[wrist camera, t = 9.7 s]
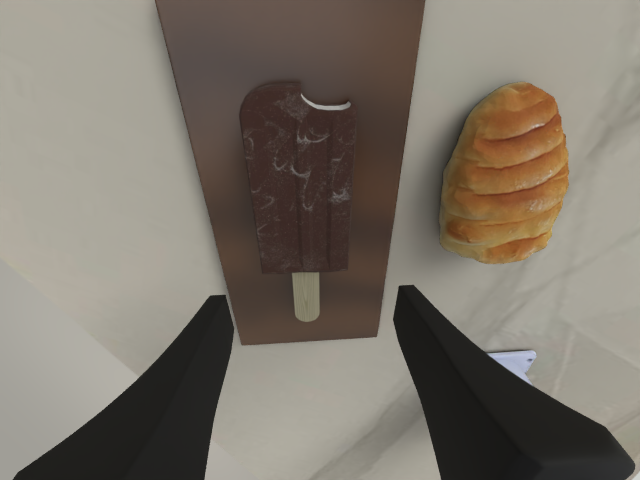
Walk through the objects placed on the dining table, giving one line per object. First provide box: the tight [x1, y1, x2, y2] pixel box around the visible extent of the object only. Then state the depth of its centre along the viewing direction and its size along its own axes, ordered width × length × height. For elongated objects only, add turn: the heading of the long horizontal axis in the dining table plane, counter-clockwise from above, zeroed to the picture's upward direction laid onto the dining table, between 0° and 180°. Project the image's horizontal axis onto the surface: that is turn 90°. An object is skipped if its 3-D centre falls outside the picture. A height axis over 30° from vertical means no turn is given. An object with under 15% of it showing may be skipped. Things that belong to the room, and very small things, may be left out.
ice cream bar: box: [239, 83, 358, 322], centre depth 17 cm, size 5×2×15 cm
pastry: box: [439, 82, 569, 264], centre depth 16 cm, size 9×7×4 cm
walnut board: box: [155, 0, 425, 345], centre depth 18 cm, size 22×11×1 cm, turn 0°
